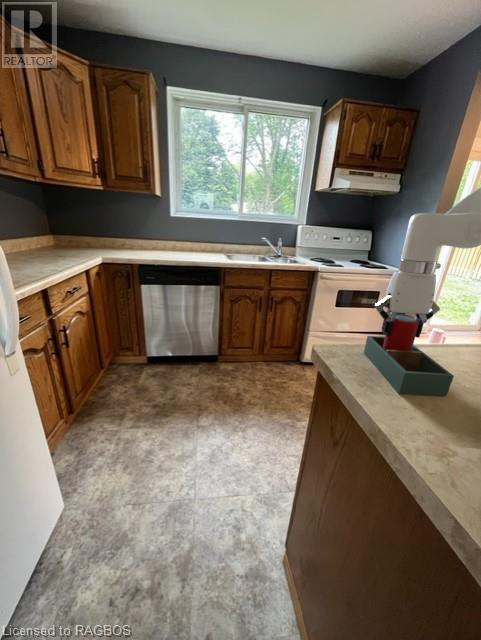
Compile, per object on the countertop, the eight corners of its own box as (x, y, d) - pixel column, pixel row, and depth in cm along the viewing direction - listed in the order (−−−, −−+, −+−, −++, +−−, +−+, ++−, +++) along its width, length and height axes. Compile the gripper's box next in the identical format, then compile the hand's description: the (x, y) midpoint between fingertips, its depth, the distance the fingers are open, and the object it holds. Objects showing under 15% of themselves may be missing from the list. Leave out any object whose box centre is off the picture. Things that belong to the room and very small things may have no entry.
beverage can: (414, 362, 73) (425, 320, 68) (396, 366, 70) (407, 323, 66) (392, 351, 78) (402, 312, 74) (375, 354, 76) (384, 314, 72)
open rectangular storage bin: (399, 354, 80) (404, 336, 78) (446, 397, 61) (454, 373, 59) (363, 352, 80) (367, 334, 78) (398, 394, 61) (405, 370, 59)
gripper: (442, 266, 69) (424, 330, 75) (374, 264, 70) (361, 328, 76) (464, 271, 62) (442, 342, 68) (387, 269, 63) (373, 339, 69)
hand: (400, 334), depth 72 cm, fingers closed on beverage can, 6 cm apart
